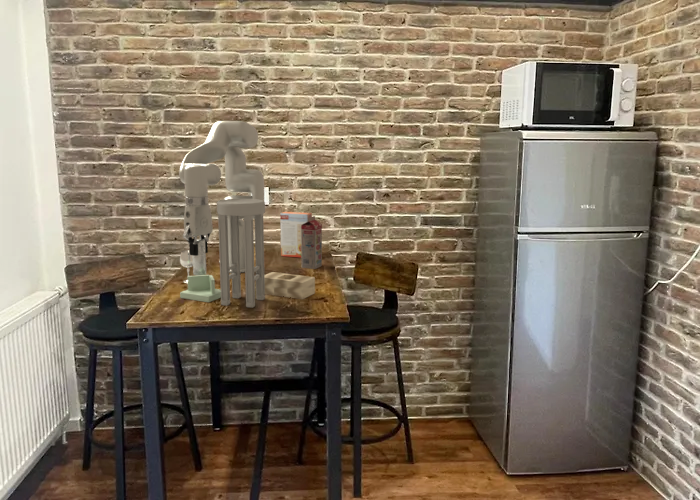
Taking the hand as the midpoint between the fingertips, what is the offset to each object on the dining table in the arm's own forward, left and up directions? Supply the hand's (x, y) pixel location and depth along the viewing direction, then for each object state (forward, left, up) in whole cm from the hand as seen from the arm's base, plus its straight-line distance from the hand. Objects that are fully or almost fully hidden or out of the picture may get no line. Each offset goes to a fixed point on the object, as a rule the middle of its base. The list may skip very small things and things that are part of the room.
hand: (198, 253), depth 203 cm
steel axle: (0, 0, -7) cm, 7 cm away
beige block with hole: (+24, +19, -16) cm, 35 cm away
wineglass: (-19, +16, -16) cm, 30 cm away
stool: (+16, +3, -16) cm, 23 cm away
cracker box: (-6, +77, -16) cm, 79 cm away
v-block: (0, +1, -16) cm, 16 cm away
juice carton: (+11, +61, -16) cm, 64 cm away
